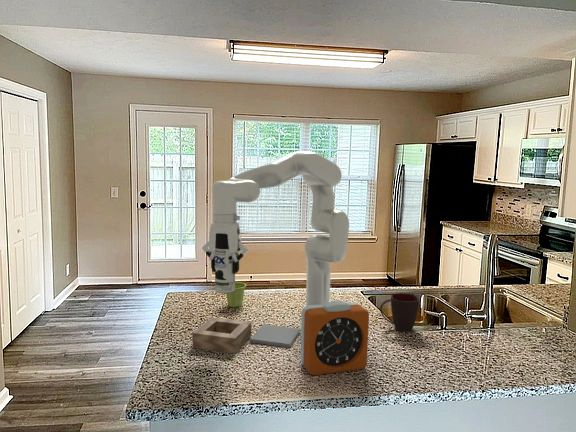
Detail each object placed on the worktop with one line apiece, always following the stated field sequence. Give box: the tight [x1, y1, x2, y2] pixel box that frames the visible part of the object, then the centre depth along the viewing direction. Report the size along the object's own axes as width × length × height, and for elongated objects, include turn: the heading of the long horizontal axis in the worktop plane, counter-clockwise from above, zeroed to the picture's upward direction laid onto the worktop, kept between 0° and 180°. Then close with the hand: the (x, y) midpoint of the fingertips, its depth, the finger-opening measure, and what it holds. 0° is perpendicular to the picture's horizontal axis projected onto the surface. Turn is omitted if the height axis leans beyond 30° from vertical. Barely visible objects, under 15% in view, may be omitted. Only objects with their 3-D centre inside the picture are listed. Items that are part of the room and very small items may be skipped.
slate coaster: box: [249, 323, 301, 348], centre depth 158 cm, size 14×14×1 cm
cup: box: [379, 292, 420, 333], centre depth 166 cm, size 10×14×12 cm
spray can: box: [214, 233, 236, 295], centre depth 150 cm, size 7×7×20 cm
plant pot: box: [225, 281, 247, 308], centre depth 190 cm, size 9×9×9 cm
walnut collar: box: [191, 317, 252, 354], centre depth 153 cm, size 15×15×5 cm
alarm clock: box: [300, 300, 370, 376], centre depth 135 cm, size 18×9×21 cm, turn 106°
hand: (225, 271), depth 150 cm, fingers closed on spray can, 6 cm apart
